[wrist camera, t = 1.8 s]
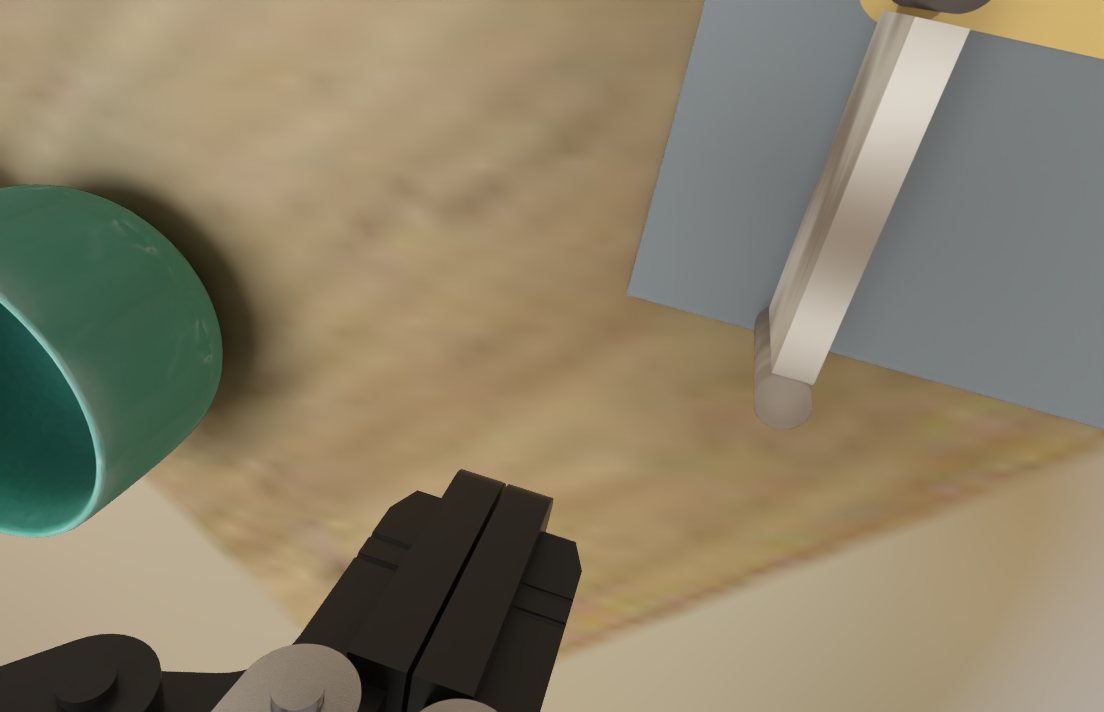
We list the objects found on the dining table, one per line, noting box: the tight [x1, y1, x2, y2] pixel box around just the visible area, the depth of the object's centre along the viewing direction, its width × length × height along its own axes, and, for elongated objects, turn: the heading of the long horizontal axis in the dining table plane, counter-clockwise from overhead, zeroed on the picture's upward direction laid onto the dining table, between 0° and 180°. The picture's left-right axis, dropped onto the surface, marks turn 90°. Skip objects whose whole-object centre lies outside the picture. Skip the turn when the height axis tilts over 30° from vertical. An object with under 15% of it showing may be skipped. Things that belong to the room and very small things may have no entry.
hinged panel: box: [754, 0, 990, 429], centre depth 20 cm, size 13×2×6 cm, turn 169°
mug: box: [0, 185, 223, 537], centre depth 29 cm, size 17×13×10 cm
